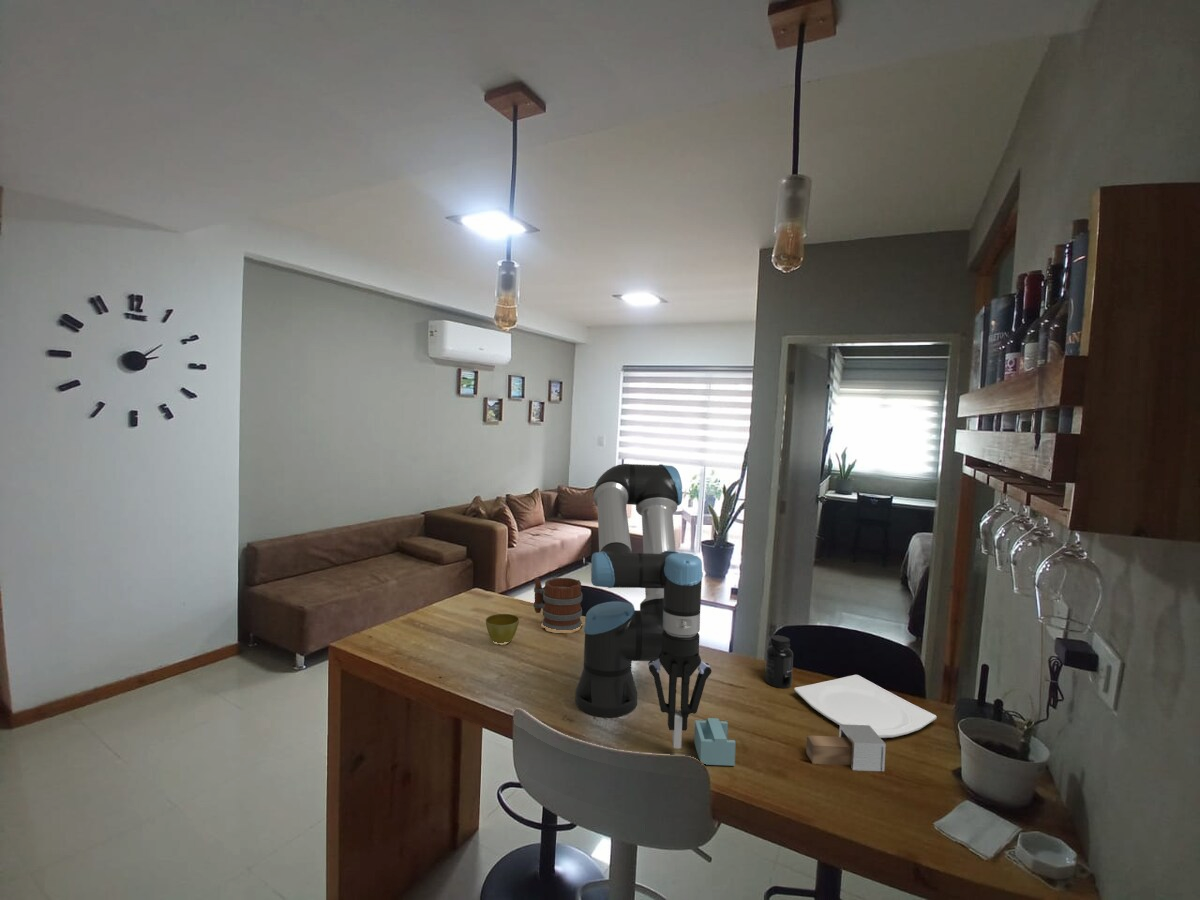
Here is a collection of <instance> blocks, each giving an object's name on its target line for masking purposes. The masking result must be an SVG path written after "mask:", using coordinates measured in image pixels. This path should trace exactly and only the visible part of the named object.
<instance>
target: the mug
mask: <svg viewBox="0 0 1200 900" xmlns="http://www.w3.org/2000/svg"><path fill="white" fill-rule="evenodd" d="M533 592H534V601H533V608H534V611H535V613H536V614H540V613H541V611H542V617H543V620H542V621H543V622H541V623H543V625H544V626H546V627H548V628H551V629H556V630H573V629H576V628H578V627H580V626H581V624H583V622H582V620H581V617H582V616H583V609H582V607H581V602H582V601H583V592H582V582H581V580H579V579H575V578H571V577H553V578H551V579H550V578H549V579H548V580H546V581H545V582H544V588H543V587H542V582H541V580H540V578H539V577H534V588H533ZM542 601H544V603H543V602H542Z"/></svg>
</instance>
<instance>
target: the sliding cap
mask: <svg viewBox="0 0 1200 900" xmlns="http://www.w3.org/2000/svg"><path fill="white" fill-rule="evenodd" d="M728 727H729V723H728V721H726V720H724V721H723V720H721V721H720V719H719V717H718V718H717V717H714V718H713V717H707V719H706V720H696V719H695V720H694V735H693V737H694V739H693V740H694V742H693V743H694V747H695V750H696V753H697V757H698V760H699V759H700V760H701V761H702V762H703V763H704V764H706V765H707V766H708V765H711V766H712V765H713V766H731V767H732V766H733V767H734V766H736V745H737V744H736V740H734V739H728V731H729V730H728Z"/></svg>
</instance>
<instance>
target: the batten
mask: <svg viewBox="0 0 1200 900" xmlns="http://www.w3.org/2000/svg"><path fill="white" fill-rule="evenodd" d="M805 748H806V749H805V752H806V755H807V757H808V759H809V760H810V762H811V764H813V765H814V764H816V765H818V764H819V765H834V766H835V765H839V766H851V759H852V742H851V741H850V740H849V738H848V737H839V736H830V735H829V736H827V735H826V736H825V735H806V747H805Z"/></svg>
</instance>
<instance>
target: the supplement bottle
mask: <svg viewBox="0 0 1200 900" xmlns="http://www.w3.org/2000/svg"><path fill="white" fill-rule="evenodd" d="M790 647H791V639H790V638H789V637H786V636H785V635H784V636H783V635H772V636H771V637H770V645H769V646H767V648H766V653H765V672H764V674H765V675H764V676H765V677H764V679H765V681H766V683H767V684H768V685H770V686H771V687H774V688H779V689H787V688H790V687H791V686H792V684H793V683H792V682H793V667H794V652H793V650H791V648H790Z"/></svg>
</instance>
